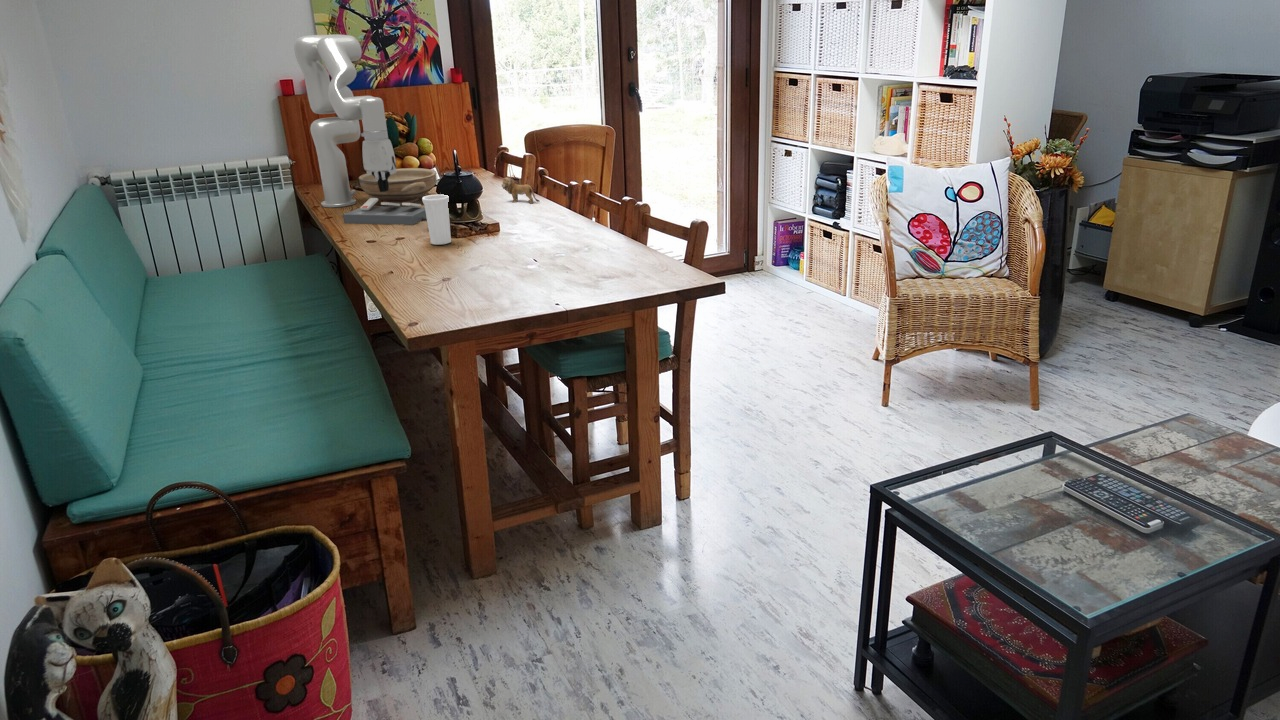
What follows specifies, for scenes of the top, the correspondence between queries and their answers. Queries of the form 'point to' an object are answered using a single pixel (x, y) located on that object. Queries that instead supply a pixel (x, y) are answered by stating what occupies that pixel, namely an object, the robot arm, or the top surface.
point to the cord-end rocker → (411, 204)
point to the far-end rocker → (369, 204)
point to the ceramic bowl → (401, 185)
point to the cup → (438, 218)
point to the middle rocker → (390, 204)
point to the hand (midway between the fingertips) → (384, 191)
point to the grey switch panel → (386, 215)
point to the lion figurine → (518, 189)
